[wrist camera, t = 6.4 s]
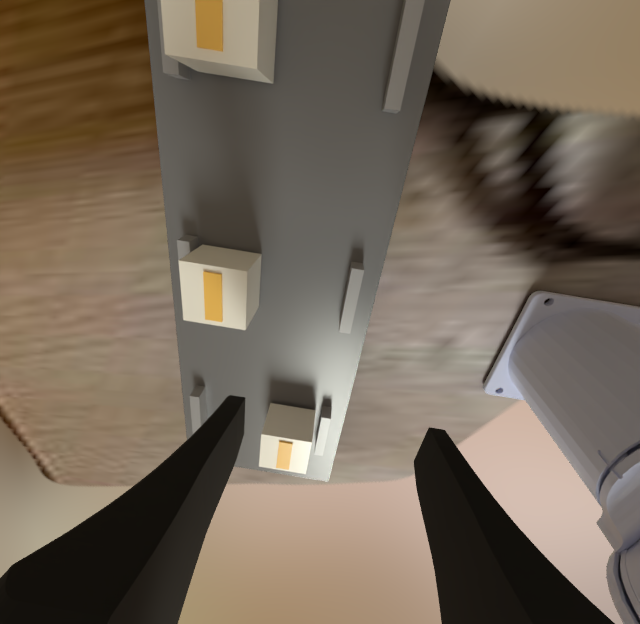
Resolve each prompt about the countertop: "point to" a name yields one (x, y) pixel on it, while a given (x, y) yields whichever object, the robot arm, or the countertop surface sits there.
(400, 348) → the countertop surface
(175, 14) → the switch
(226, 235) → the power strip
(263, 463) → the switch
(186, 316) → the switch mid
